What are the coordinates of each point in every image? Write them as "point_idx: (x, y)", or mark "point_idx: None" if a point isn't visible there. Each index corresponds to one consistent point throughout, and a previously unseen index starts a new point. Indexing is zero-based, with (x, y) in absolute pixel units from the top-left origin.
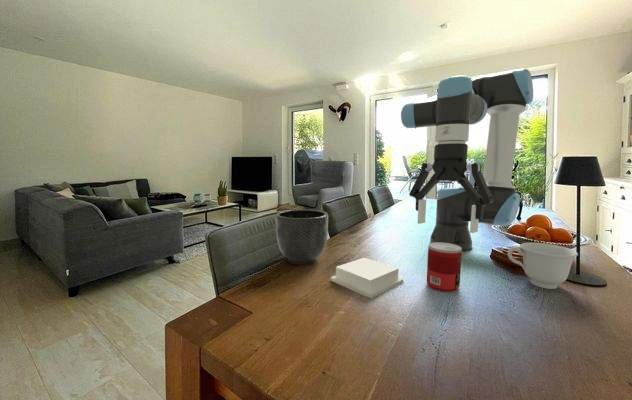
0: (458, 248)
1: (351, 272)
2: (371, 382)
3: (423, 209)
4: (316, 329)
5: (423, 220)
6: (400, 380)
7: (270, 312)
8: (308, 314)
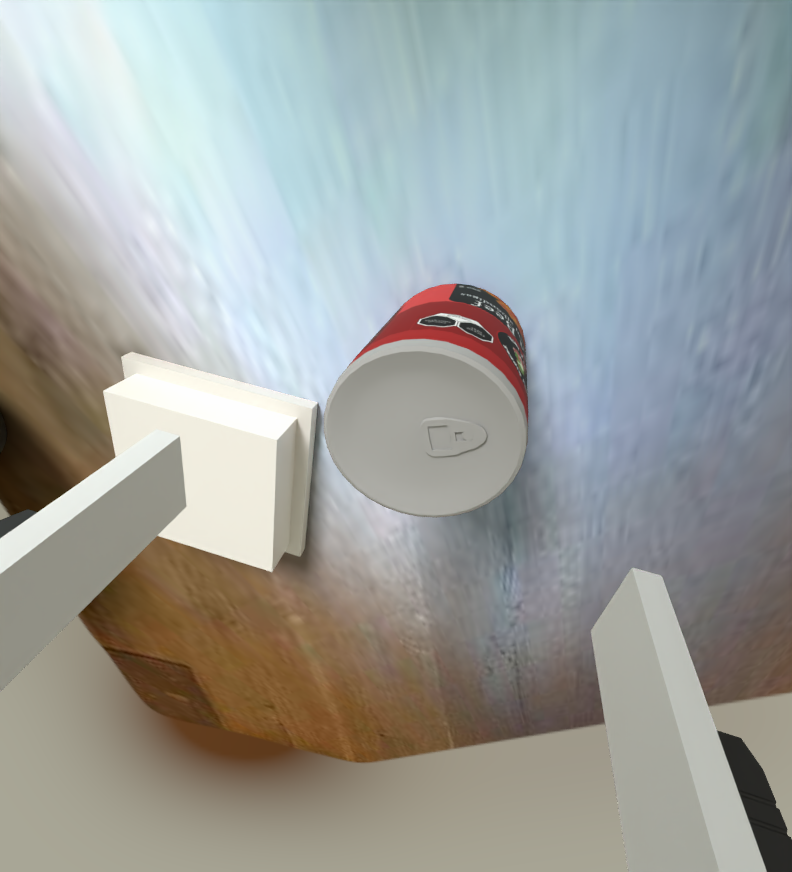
0: (504, 428)
1: (193, 545)
2: (444, 736)
3: (80, 557)
4: (304, 673)
5: (166, 472)
6: (478, 727)
7: (206, 658)
8: (257, 644)
